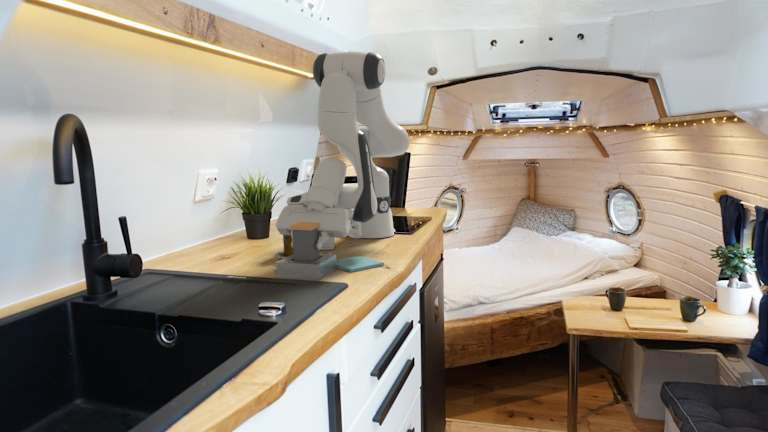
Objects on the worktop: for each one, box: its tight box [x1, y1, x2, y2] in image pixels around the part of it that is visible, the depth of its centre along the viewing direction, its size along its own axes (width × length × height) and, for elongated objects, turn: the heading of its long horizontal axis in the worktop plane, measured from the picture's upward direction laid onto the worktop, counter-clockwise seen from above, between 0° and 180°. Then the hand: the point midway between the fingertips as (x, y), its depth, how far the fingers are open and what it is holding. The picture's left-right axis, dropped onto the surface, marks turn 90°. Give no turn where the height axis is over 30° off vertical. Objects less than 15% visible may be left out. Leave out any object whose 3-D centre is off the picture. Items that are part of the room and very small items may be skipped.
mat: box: [336, 255, 385, 273], centre depth 141 cm, size 11×11×1 cm
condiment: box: [275, 235, 293, 259], centre depth 154 cm, size 7×8×12 cm
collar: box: [275, 253, 337, 281], centre depth 133 cm, size 12×12×4 cm
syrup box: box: [319, 237, 336, 251], centre depth 163 cm, size 6×6×14 cm
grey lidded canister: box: [290, 222, 321, 262], centre depth 133 cm, size 6×6×13 cm
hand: (305, 247), depth 132 cm, fingers closed on grey lidded canister, 5 cm apart
